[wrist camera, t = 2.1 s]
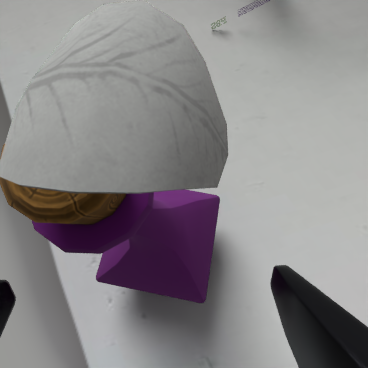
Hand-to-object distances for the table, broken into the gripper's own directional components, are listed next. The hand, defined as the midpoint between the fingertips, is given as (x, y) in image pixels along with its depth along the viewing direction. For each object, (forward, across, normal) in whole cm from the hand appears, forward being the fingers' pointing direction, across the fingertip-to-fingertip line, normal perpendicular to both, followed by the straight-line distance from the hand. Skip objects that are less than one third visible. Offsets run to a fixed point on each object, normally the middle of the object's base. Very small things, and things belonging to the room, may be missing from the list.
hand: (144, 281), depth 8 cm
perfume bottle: (+10, 0, +6) cm, 12 cm away
